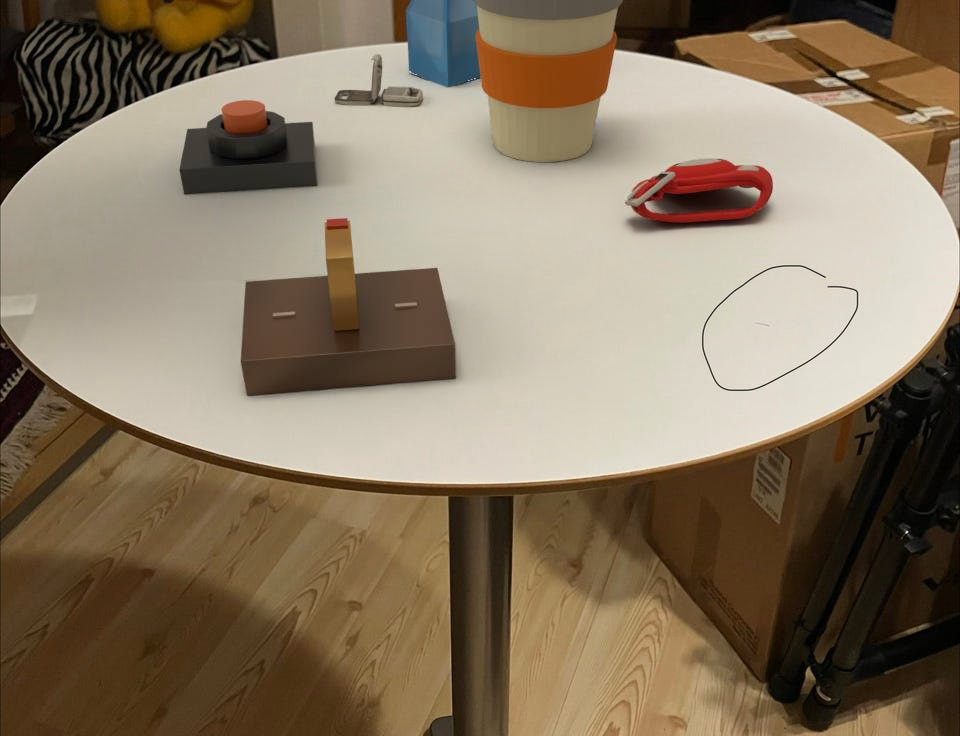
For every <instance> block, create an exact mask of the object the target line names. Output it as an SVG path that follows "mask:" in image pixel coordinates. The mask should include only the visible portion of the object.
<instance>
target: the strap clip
mask: <svg viewBox="0 0 960 736" xmlns="http://www.w3.org/2000/svg"><path fill="white" fill-rule="evenodd" d="M370 61H373V64H372V73H371V74H372V75H371V88H370V89H371V90H366V89H365V90H364V89H363V90H362V89H341V90H338V91H337V93H336V95H335V96H334V102H335V103H337V104H341V105H344V106H370V105H371V104H374V102H376V101H377V100H378V97H379V95H380V99H381V100H380V104H381V105H382V104H383V106H384V107H398V108H399V107H401V108H409V107H415V106H419V105H420V103H421V101H422V99H423V98H424V97H423V90H422V89H420V88H417V87H414V86H413V87H412V86H387V87H386V88H383V90H382V92H381V88H382V78H383V76H382V75H383V59H382V54H374V55H372V57H371V59H370ZM380 92H381V94H380ZM342 96H347V97H346V98H342Z"/></svg>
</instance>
